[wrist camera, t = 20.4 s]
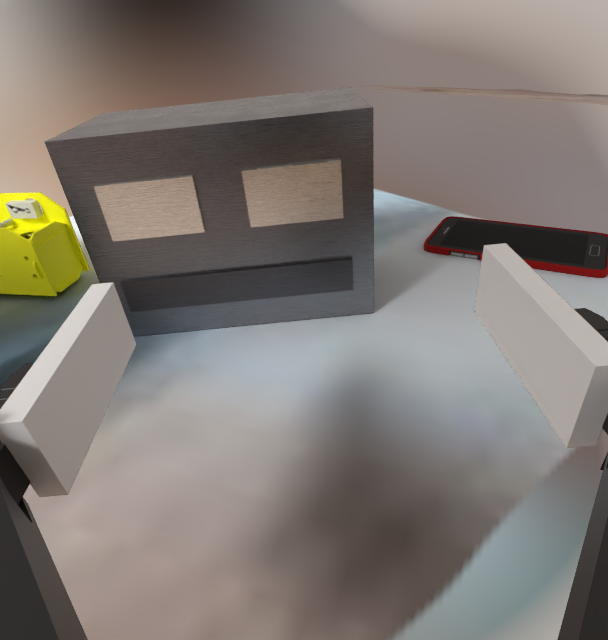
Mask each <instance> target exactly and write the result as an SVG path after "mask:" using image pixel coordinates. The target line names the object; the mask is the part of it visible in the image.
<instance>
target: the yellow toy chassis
mask: <svg viewBox="0 0 608 640" xmlns="http://www.w3.org/2000/svg"><path fill="white" fill-rule="evenodd" d="M27 198H33V199H35V200H27ZM38 203H39V204H40V205H41V207H42V209H43V213H42V211H41V209H40V206H39V204H38ZM29 234H30V235H31V236H30V235H29ZM89 270H90V269H89V266H88V264H87V261H86V259H85V256H84V254H83V251H82V249H81V246H80V244H79V241H78V239H77V236H76V234H75V231H74V229H73V226H72V224H71V221H70V219H69V216H68V214H67V212H66V209H65V208H63V207H62V206H60V205H59V204H57V203H56V202H54V201H53V200H51V199H50V198H48V197H47V196H45V195H44V194H42V193H0V294H18V295H40V296H57V293H56V292H62V291H63V290H65V289H66V288H67V287H69V286H70V285H71V284H72V283H74V282H75V281H76V280H78V279H79V278H80V275H81V273H82V271H89Z"/></svg>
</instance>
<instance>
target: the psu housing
mask: <svg viewBox="0 0 608 640" xmlns="http://www.w3.org/2000/svg"><path fill="white" fill-rule="evenodd" d="M45 144H46V147H47V149H48V152H49V154H50V157H51V159H52V162H53V164H54V167H55V170H56V172H57V175H58V177H59V180H60V182H61V185H62V187H63V190H64V193H65V195H66V198H67V200H68V202H69V205H70V208H71V210H72V213H73V215H74V218H75V220H76V223H77V226H78V228H79V231H80V233H81V236H82V238H83V241H84V243H85V246H86V248H87V251H88V254H89V256H90V259H91V261H92V264H93V266H94V269H95V271H96V274H97V276H98V279H99V281H100V284H101V283H111V282H113V283H114V286H115V288H116V291H117V294H118V296H119V299H120V302H121V304H122V307H123V310H124V312H125V315H126V318H127V320H128V323H129V326H130V328H131V331H132V334H133V336H144V335H154V334H164V333H174V332H184V331H194V330H204V329H215V328H225V327H235V326H245V325H255V324H265V323H275V322H285V321H296V320H306V319H316V318H326V317H336V316H346V315H356V314H367V313H374V197H373V107H372V106H371V105H370V104H369V103H368V102H367V101H366V100H364V99H363V98H362V97H361V96H360V95H359V94H358V93H356V92H355V91H354V90H353V89H352V88H351V87H348V88H339V89H329V90H320V91H310V92H301V93H292V94H282V95H273V96H263V97H254V98H245V99H236V100H226V101H216V102H207V103H198V104H188V105H179V106H169V107H160V108H150V109H141V110H131V111H122V112H114V113H103V114H101V115H99V116H97V117H95V118H93V119H91V120H89V121H86V122H84V123H83V124H80V125H78V126H76V127H74V128H72V129H70V130H68V131H66V132H64V133H62V134H60V135H58V136H56V137H54V138H52V139H49V140H48V141H45Z"/></svg>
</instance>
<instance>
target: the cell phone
mask: <svg viewBox="0 0 608 640" xmlns="http://www.w3.org/2000/svg"><path fill="white" fill-rule="evenodd" d="M503 243H506V244H507V245H508V246H509V247H510V248H511V249H512V250H513V251H514V252H515V253H516V254H517V255H519V256H520V257H521V258H522V259H523V260H524V261H525V262H526V263H527V264H528V265H529V266H530V267H531V268H534V269H541V270H547V271H554V272H560V273H567V274H574V275H580V276H587V277H596V278H604V277H606V276H607V275H608V235H607V234H603V233H596V232H588V231H579V230H570V229H562V228H553V227H544V226H534V225H526V224H517V223H507V222H499V221H490V220H481V219H472V218H463V217H446V218H445V219H443V220H442V221H441V223H440V224H439V225H438V226H437V227H436V229H435V230H434V231H433V232H432V233H431V235H430V236H429V237H428V238H427V239H426V241H425V243H424V250H425V251H427V252H431V253H436V254H442V255H453V256H460V257H466V258H473V259H479V260H482V255H483V248H484V245H493V244H503Z"/></svg>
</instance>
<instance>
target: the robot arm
mask: <svg viewBox="0 0 608 640" xmlns="http://www.w3.org/2000/svg"><path fill="white" fill-rule="evenodd" d="M474 312H475V313H476V315H477V316H478V318H479V319H480V321H481V322H482V324H483V325H484V327H485V328H486V330H487V331H488V333H489V334H490V336H491V337H492V339H493V340H494V341H495V343H496V344H497V346H498V347H499V349H500V350H501V352H502V353H503V355H504V356H505V358H506V359H507V361H508V362H509V364H510V365H511V367H512V368H513V370H514V371H515V373H516V374H517V376H518V377H519V378H520V380H521V381H522V383H523V384H524V386H525V387H526V389H527V390H528V392H529V393H530V395H531V396H532V398H533V399H534V401H535V402H536V404H537V405H538V407H539V408H540V410H541V411H542V413H543V414H544V415H545V417H546V418H547V420H548V421H549V423H550V424H551V426H552V427H553V429H554V430H555V432H556V433H557V435H558V436H559V438H560V439H561V441H562V442H563V444H564V445H565V447H566V448H574V447H584V446H595V445H596V444H597V442H598V440H599V437H600V435H601V432H602V430H603V429H604V430H605V432H606V433H607V434H608V321H607V320H605V319H604V318H603V317H602V316H600V315H598V314H596V313H594V312H592V311H590V310H588V309H586V308H581V309H573V308H572V307H571V306H570V305H569V304H568V303H567V302H566V301H565V300H564V299H563V298H562V297H561V296H560V295H559V294H558V293H557V292H556V291H555V290H554V289H553V288H552V287H551V286H550V285H548V284H547V283H546V282H545V281H544V280H543V279H542V278H541V277H540V276H539V275H538V274H537V273H536V272H535V271H534V270H533V269H532V268H531V267H530V266H529V265H528V264H527V263H526V262H525V261H524V260H523V259H522V258H521V257H520V256H519V255H517V254H516V253H515V252H514V251H513V250H512V249H511V248H510V247H509V246H508V245H507V244H506V243H503V244H493V245H484V248H483V255H482V262H481V268H480V275H479V282H478V289H477V296H476V302H475V309H474ZM135 346H136V342H135V339H134V336H133V334H132V331H131V328H130V326H129V323H128V320H127V318H126V315H125V312H124V310H123V307H122V304H121V302H120V299H119V296H118V294H117V291H116V288H115V286H114V283H113V282H111V283H101V284H92V285H91V286H90V288H89V289H88V290H87V292H86V293H85V295H84V296H83V297H82V299H81V300H80V301H79V303H78V304H77V305H76V307H75V308H74V310H73V311H72V312H71V314H70V315H69V316H68V318H67V319H66V320H65V322H64V323H63V325H62V326H61V327H60V329H59V330H58V331H57V333H56V334H55V335H54V337H53V338H52V340H51V341H50V342H49V344H48V345H47V346H46V348H45V349H44V350H43V352H42V353H41V355H40V356H39V357H38V359H37V360H36V361H35V363H27V364H25V365H24V366H23V367H22V368H20V369H19V370H18V371H16V372H15V373H14V374H12V375H11V376H10V378H9V379H8V380H7V382H6V383H5V384H4V385H3V387H2V388H1V389H2V390H1V391H0V640H87V637H86V635H85V633H84V630H83V628H82V626H81V624H80V621H79V619H78V617H77V615H76V612H75V610H74V608H73V605H72V603H71V601H70V599H69V596H68V594H67V592H66V589H65V587H64V585H63V583H62V580H61V578H60V576H59V574H58V571H57V569H56V567H55V564H54V562H53V560H52V558H51V555H50V553H49V551H48V548H47V546H46V544H45V542H44V539H43V537H42V535H41V533H40V530H39V528H38V526H37V523H36V521H35V519H34V517H33V514H32V512H31V510H30V508H29V505H28V503H27V502H26V501H25V499H24V498H23V495H24V493H25V491H26V489H27V488H28V486H29V484H31V486H32V487H33V489H34V490H35V491H36V493H37V494H38V496H39V497H47V496H58V495H68V494H69V492H70V489H71V487H72V485H73V483H74V481H75V478H76V476H77V474H78V472H79V470H80V467H81V465H82V463H83V461H84V459H85V456H86V454H87V452H88V450H89V448H90V445H91V443H92V441H93V439H94V437H95V434H96V432H97V430H98V428H99V426H100V423H101V421H102V419H103V417H104V415H105V412H106V410H107V408H108V406H109V404H110V401H111V399H112V397H113V395H114V393H115V390H116V388H117V386H118V384H119V382H120V379H121V377H122V375H123V373H124V371H125V368H126V366H127V364H128V362H129V360H130V357H131V355H132V353H133V351H134V349H135ZM601 470H603V473H602V477H601V481H600V484H599V488H598V492H597V495H596V499H595V503H594V507H593V510H592V514H591V518H590V522H589V525H588V529H587V532H586V536H585V540H584V544H583V547H582V551H581V555H580V558H579V562H578V566H577V570H576V573H575V577H574V581H573V584H572V588H571V592H570V596H569V599H568V603H567V607H566V610H565V614H564V618H563V622H562V625H561V629H560V633H559V637H558V640H608V453H607V455H606V457H605V460H604V462H603V464H602V466H601Z"/></svg>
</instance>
